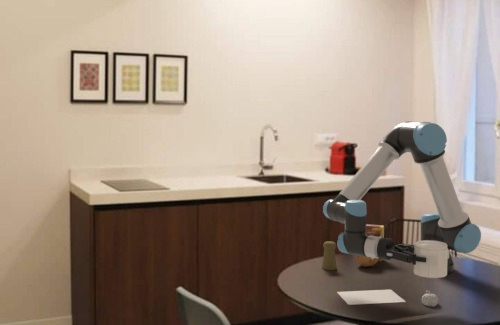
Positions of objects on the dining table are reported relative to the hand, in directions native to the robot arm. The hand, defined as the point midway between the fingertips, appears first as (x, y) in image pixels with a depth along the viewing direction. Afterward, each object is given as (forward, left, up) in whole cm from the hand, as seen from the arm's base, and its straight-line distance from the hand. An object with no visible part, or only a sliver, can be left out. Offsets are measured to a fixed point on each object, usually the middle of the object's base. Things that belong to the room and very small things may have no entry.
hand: (443, 257), depth 202 cm
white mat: (+20, -13, -17) cm, 29 cm away
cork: (+23, -55, -17) cm, 62 cm away
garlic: (+3, -3, -18) cm, 18 cm away
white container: (+3, -3, -6) cm, 7 cm away
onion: (+7, -55, -17) cm, 58 cm away
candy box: (+1, -65, -17) cm, 67 cm away
